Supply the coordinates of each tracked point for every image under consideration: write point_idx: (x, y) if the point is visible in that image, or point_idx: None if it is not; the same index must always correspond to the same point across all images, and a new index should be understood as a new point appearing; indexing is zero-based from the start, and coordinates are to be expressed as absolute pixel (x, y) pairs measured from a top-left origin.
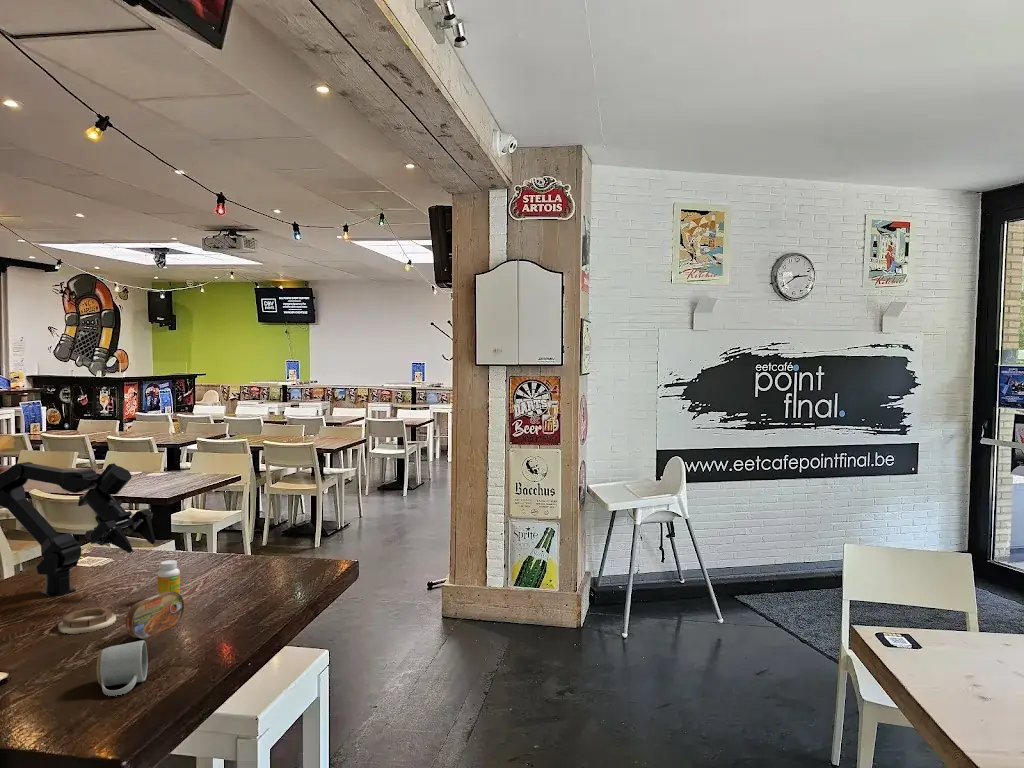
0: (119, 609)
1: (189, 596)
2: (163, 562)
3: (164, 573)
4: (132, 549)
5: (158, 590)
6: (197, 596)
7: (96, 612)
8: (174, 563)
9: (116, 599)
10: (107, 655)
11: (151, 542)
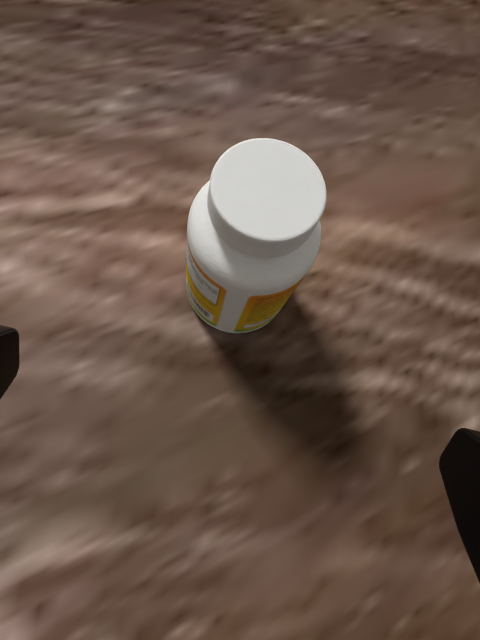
0: (400, 458)
1: None
2: (280, 219)
3: (319, 226)
4: (470, 432)
5: (278, 309)
6: None
7: None
8: (286, 145)
9: (243, 567)
10: None
11: (4, 378)
